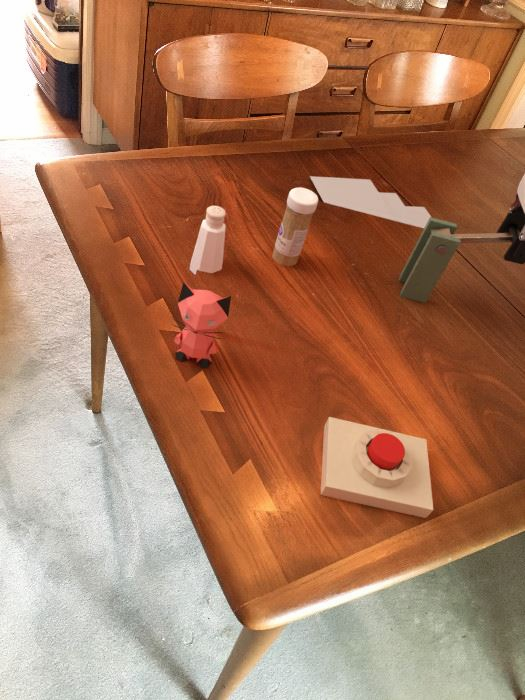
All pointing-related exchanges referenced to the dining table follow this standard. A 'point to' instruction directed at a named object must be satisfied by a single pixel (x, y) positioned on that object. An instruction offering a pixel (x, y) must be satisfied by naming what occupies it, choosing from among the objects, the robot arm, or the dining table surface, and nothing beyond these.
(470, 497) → the dining table surface
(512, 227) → the lever
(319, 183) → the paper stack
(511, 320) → the dining table surface
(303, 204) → the sprinkles bottle
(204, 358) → the cat figurine
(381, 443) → the button
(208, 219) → the pepper shaker
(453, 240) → the bracket
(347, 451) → the control block
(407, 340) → the dining table surface
